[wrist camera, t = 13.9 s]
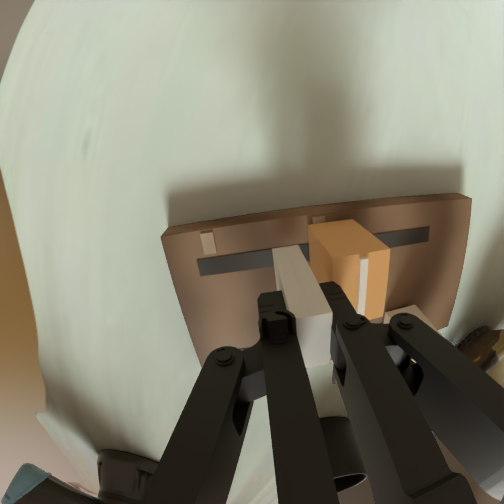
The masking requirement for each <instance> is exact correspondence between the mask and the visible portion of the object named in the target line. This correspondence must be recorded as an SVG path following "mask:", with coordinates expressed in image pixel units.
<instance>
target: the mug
mask: <svg viewBox="0 0 504 504" xmlns="http://www.w3.org/2000/svg"><path fill="white" fill-rule="evenodd" d="M319 421H320V425H321V429H322V433H323V437H324V441H325V445H326V449H327V453H328V457H329V461H330V465H331V469H332V474H333V478H334V482H335V486H336V491H337V493H338V492H341V491H344V490H347V489H349V488H351V487H354V486H356V485H358V484H360V483H361V482H363V481H364V480H365V479H367V478H368V476H367V473H366V470H365V466H364V463H363V460H362V456H361V453H360V450H359V447H358V444H357V441H356V438H355V434H354V431H353V428H352V425H351V422H350V420H348V419H346V418H343V417H328V418H322V419H319Z"/></svg>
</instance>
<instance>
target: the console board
mask: <svg viewBox="0 0 504 504" xmlns="http://www.w3.org/2000/svg"><path fill="white" fill-rule="evenodd" d="M471 204H472V198H469V197H467V196H464V195H461V194H459V193H448V194H433V195H419V196H406V197H394V198H383V199H372V200H362V201H352V202H343V203H334V204H325V205H317V206H308V207H300V208H292V209H285V210H277V211H270V212H262V213H255V214H248V215H242V216H235V217H228V218H222V219H215V220H209V221H203V222H197V223H191V224H185V225H179V226H173V227H168V228H167V229H166V231H165V232H164V233H163V234H162V236H161V241H162V244H163V248H164V252H165V256H166V259H167V263H168V267H169V270H170V274H171V277H172V280H173V284H174V287H175V291H176V294H177V297H178V300H179V303H180V307H181V310H182V313H183V316H184V319H185V322H186V325H187V328H188V331H189V334H190V337H191V339H192V342H193V345H194V348H195V351H196V353H197V356H198V359H199V362H200V364H201V367H203V365H204V363H205V361H206V358H207V356H208V355H209V354H210V352H212V351H213V350H215V349H216V348H219V347H222V346H232V347H236V348H238V349H240V350H241V351H242V350H245V349H248V348H250V347H252V346H253V345H255V344H256V343H257V342H258V341H259V339H260V333H259V327H258V320H259V313H258V303H257V299H258V297H259V296H260V294H261V293H266V292H273V291H277V286H276V277H275V268H274V260H273V252H272V249H273V248H280V247H287V246H294V245H298V246H299V248H300V249H301V251H302V253H303V255H304V257H305V259H306V261H307V263H308V265H309V267H310V255H309V238H308V225H310V224H318V223H326V222H333V221H341V220H349V219H353V220H355V221H356V222H357V223H359V224H360V225H361V226H362V227H364V228H365V229H366V230H368V231H369V232H370V233H371V234H373V235H374V236H375V237H376V238H378V239H379V240H380V241H381V242H383V243H384V244H385V245H386V246H388V247H389V248H390V262H389V273H388V282H387V291H386V299H385V306H384V313H383V317H379V318H375V319H371V320H369V321H370V323H376V324H383V323H384V317H385V312H389V311H393V310H396V309H400V308H404V307H408V306H411V305H416V306H417V307H418V308H419V310H420V311H421V312H422V313H423V314H424V315H425V316H426V317H427V319H428V320H429V321H430V322H431V323H432V324H433V326H434V327H435V328H436V329H437V330H439V329H442V328H444V327H447V326H448V323H449V320H450V317H451V314H452V310H453V307H454V303H455V299H456V295H457V291H458V287H459V283H460V278H461V274H462V269H463V264H464V259H465V253H466V247H467V240H468V233H469V225H470V216H471ZM330 360H333V359H332V357H331V359H330Z"/></svg>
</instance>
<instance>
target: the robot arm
mask: <svg viewBox="0 0 504 504" xmlns="http://www.w3.org/2000/svg"><path fill="white" fill-rule="evenodd" d="M272 252H273V260H274V268H275V277H276V286H277V291H273V292H266V293H261V294H260V296H259V297H258V299H257V303H258V313H259V320H258V327H259V333H260V339H259V341H258V342H257V343H256V344H255V345H253V346H252V347H250V348H248V349H245V350H242V351H241V350H240V349H238V348H236V347H232V346H222V347H219V348H216V349H215V350H213V351H212V352H210V354H209V355H208V356H207V358H206V361H205V363H204V365H203V367H202V369H201V372H200V374H199V376H198V378H197V380H196V383H195V385H194V387H193V389H192V391H191V394H190V396H189V398H188V400H187V402H186V405H185V407H184V409H183V411H182V413H181V416H180V418H179V420H178V422H177V424H176V427H175V429H174V431H173V433H172V435H171V438H170V440H169V442H168V444H167V446H166V449H165V451H164V453H163V455H162V457H161V460H160V462H159V464H158V463H156V462H153V461H151V460H148V459H146V458H143V457H140V456H136V455H133V454H129V453H125V452H121V451H115V450H102V451H100V453H99V456H98V460H97V465H98V476H99V484H100V489H99V494H98V498H95V497H93V496H91V495H89V494H86V493H84V492H82V491H80V490H78V489H76V488H74V487H72V486H70V485H68V484H67V483H65V482H63V481H61V480H59V479H57V478H56V477H54V476H52V475H51V473H47V472H45V471H44V470H41V469H40V468H38V467H37V466H35V465H33V464H30V463H25V464H23V465H22V466H21V467H20V469H19V470H18V472H17V473H16V475H15V477H14V478H13V480H12V482H11V483H10V485H9V487H8V489H7V491H6V493H5V495H4V496H3V498H2V502H1V503H2V504H226V501H227V498H228V494H229V491H230V488H231V484H232V481H233V477H234V474H235V470H236V467H237V463H238V460H239V456H240V452H241V449H242V445H243V441H244V438H245V434H246V430H247V426H248V422H249V418H250V415H251V411H252V407H253V403H254V400H256V399H258V398H261V397H263V396H265V395H267V402H268V412H269V421H270V430H271V439H272V448H273V458H274V467H275V476H276V485H277V494H278V503H279V504H339V500H338V495H337V491H336V486H335V482H334V478H333V474H332V469H331V465H330V461H329V457H328V453H327V449H326V445H325V441H324V437H323V433H322V429H321V425H320V421H319V417H318V413H317V409H316V405H315V401H314V397H313V393H312V390H311V386H310V382H309V378H308V374H307V371H306V368H310V367H315V366H320V365H325V364H330V359H331V357H332V359H333V362H334V365H333V377H332V384H335V379H336V381H337V384H338V387H339V390H340V393H341V395H342V398H343V401H344V404H345V407H346V410H347V413H348V416H349V419H350V422H351V425H352V428H353V431H354V434H355V438H356V441H357V444H358V447H359V450H360V453H361V456H362V460H363V463H364V466H365V470H366V473H367V476H368V480H369V483H370V486H371V490H372V493H373V497H374V500H375V504H477V502H476V500H475V497H474V495H473V492H472V490H471V487H470V485H469V483H468V481H467V479H466V478H465V477H464V476H463V475H462V474H459V473H454V472H452V471H451V470H450V469H449V467H448V465H447V463H446V461H445V458H444V456H443V454H442V452H441V450H440V448H439V445H438V444H437V441H436V439H435V437H434V435H433V433H434V434H435V435H436V436H437V437H438V438H439V440H440V441H441V442H442V443H443V444H444V445H445V446H446V448H447V449H448V450H449V451H450V452H451V453H452V454H453V456H454V457H455V458H456V459H457V460H458V461H459V462H460V463H461V465H462V466H463V467H464V468H465V469H466V470H467V472H468V473H469V474H470V475H471V476H472V477H473V479H474V480H475V481H476V482H477V483H478V485H479V486H480V487H481V488H482V489H483V490H484V491H485V492H487V493H488V494H489V495H491V496H492V497H494V498H496V499H498V500H500V503H499V504H504V388H503V387H502V386H501V385H500V384H499V383H497V382H496V381H495V380H494V379H493V378H492V377H491V376H489V375H488V374H487V373H486V372H485V371H484V370H482V369H481V368H480V367H479V366H478V365H477V364H475V363H474V362H473V361H472V360H471V359H469V358H468V357H467V356H466V355H465V354H463V353H462V352H461V351H460V350H458V349H457V348H456V347H455V346H454V345H452V344H451V343H450V342H449V341H447V340H446V339H445V338H444V337H442V336H441V335H440V334H439V333H437V332H436V331H435V330H433V329H432V328H431V327H430V326H428V325H427V324H426V323H425V322H423V321H422V320H421V319H419V318H418V317H417V316H415V315H413V314H410V313H398V314H395V315H394V316H392V317H391V319H390V321H389V324H376V323H370V321H369V320H368V319H367V318H366V317H365V316H363V315H361V314H357V312H356V311H355V309H354V307H353V306H352V304H351V302H350V301H349V299H348V298H347V296H346V294H345V293H344V291H343V290H342V288H341V286H340V285H338V284H337V283H335V282H333V281H330V282H324V283H318V282H317V280H316V278H315V276H314V274H313V272H312V270H311V268H310V267H309V265H308V263H307V261H306V259H305V257H304V255H303V253H302V251H301V249H300V248H299V246H298V245H294V246H287V247H280V248H273V249H272ZM411 359H413V360H414V361H415V362H416V363H415V362H414V361H412V360H411ZM432 432H433V433H432Z"/></svg>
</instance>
